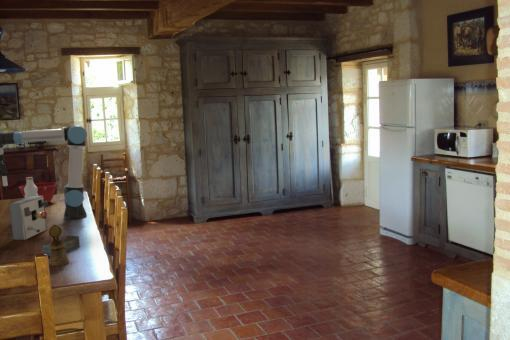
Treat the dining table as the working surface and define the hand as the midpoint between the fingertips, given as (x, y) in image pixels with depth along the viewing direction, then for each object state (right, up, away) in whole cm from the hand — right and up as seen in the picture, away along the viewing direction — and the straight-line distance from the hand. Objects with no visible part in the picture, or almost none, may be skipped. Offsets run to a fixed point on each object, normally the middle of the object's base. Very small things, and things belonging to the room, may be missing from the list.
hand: (1, 187), depth 339 cm
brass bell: (+64, -35, -74) cm, 104 cm away
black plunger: (+29, -12, -7) cm, 32 cm away
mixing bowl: (-14, -16, +94) cm, 97 cm away
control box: (+24, -28, -12) cm, 39 cm away
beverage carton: (+58, -33, -54) cm, 86 cm away
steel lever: (+30, -25, -22) cm, 45 cm away
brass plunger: (+30, -19, -14) cm, 38 cm away
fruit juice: (+1, -22, +47) cm, 52 cm away
